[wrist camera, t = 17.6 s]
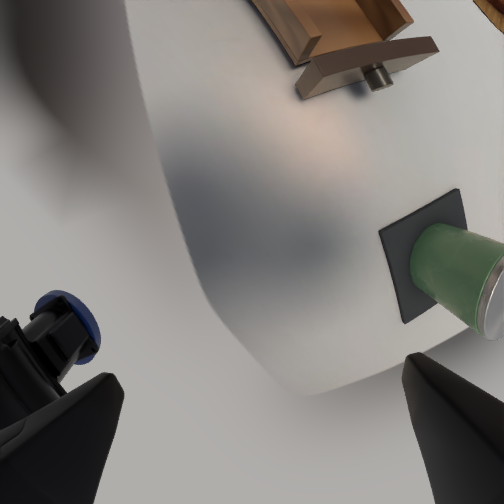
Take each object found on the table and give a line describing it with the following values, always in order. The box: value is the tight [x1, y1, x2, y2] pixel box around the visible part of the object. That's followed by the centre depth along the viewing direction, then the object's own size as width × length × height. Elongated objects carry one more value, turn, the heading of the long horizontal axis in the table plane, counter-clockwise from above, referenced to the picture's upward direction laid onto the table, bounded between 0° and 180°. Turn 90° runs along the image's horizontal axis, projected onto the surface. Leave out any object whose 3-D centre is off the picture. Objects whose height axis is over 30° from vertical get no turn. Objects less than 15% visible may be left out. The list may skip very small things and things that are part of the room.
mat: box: [379, 189, 468, 324], centre depth 20 cm, size 9×9×1 cm
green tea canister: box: [410, 223, 504, 341], centre depth 15 cm, size 6×6×9 cm
